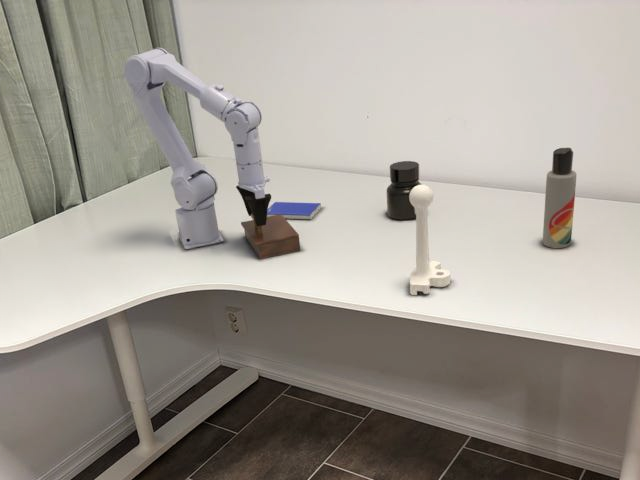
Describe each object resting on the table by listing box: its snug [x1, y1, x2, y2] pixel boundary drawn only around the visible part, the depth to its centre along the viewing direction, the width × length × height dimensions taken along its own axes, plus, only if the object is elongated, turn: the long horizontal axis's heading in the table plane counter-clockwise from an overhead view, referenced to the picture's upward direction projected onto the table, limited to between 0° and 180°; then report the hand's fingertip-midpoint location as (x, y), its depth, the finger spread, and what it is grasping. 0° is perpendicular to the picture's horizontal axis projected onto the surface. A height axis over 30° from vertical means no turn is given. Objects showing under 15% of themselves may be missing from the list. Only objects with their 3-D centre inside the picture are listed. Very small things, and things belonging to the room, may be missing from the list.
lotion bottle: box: [542, 147, 577, 249], centre depth 159 cm, size 6×6×20 cm
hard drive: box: [267, 201, 322, 220], centre depth 197 cm, size 2×8×12 cm
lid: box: [240, 213, 300, 246], centre depth 178 cm, size 10×15×4 cm
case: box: [243, 228, 301, 260], centre depth 180 cm, size 9×15×3 cm, turn 16°
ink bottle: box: [386, 160, 423, 221], centre depth 185 cm, size 10×9×12 cm
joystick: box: [409, 184, 451, 296], centre depth 149 cm, size 11×8×20 cm
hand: (257, 220), depth 177 cm, fingers open, 7 cm apart
